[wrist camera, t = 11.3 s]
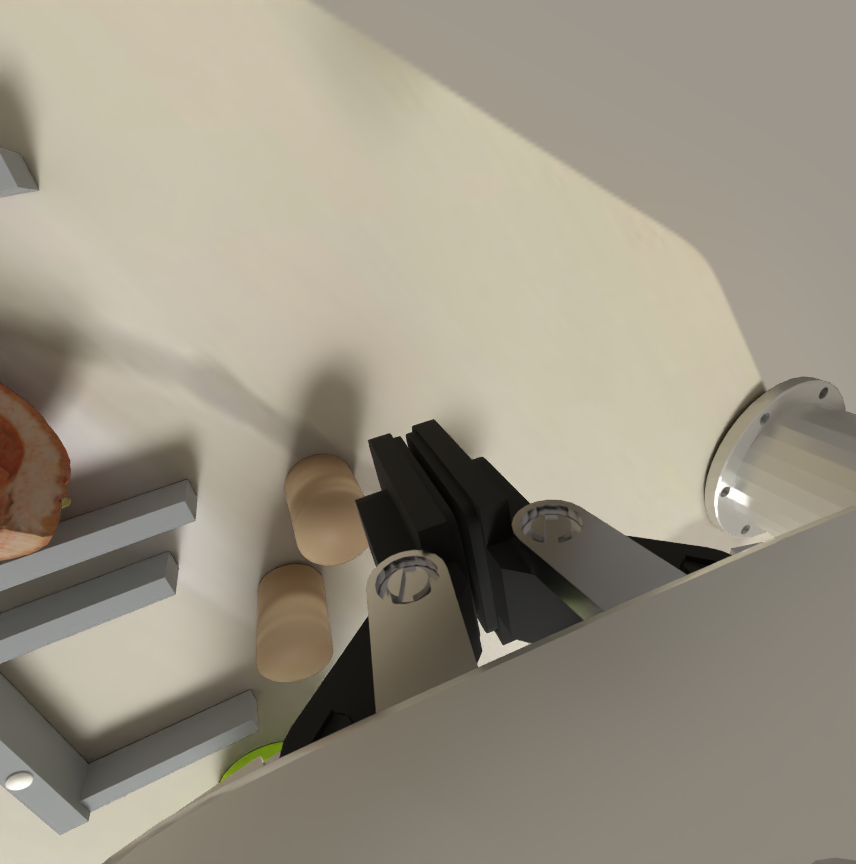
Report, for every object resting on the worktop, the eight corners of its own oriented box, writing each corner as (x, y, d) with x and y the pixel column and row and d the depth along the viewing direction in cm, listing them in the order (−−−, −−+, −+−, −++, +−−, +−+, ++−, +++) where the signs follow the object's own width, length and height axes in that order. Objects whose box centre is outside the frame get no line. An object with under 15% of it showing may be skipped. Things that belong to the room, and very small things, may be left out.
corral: (169, 550, 21) (163, 585, 19) (257, 700, 26) (259, 739, 24) (-78, 642, 19) (-113, 692, 17) (72, 786, 24) (59, 837, 22)
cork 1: (342, 444, 22) (364, 485, 19) (360, 499, 24) (383, 546, 20) (274, 468, 21) (284, 515, 18) (297, 523, 23) (310, 577, 19)
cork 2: (259, 565, 23) (257, 634, 19) (326, 562, 24) (337, 626, 20) (256, 614, 24) (254, 686, 21) (320, 609, 25) (328, 676, 22)
